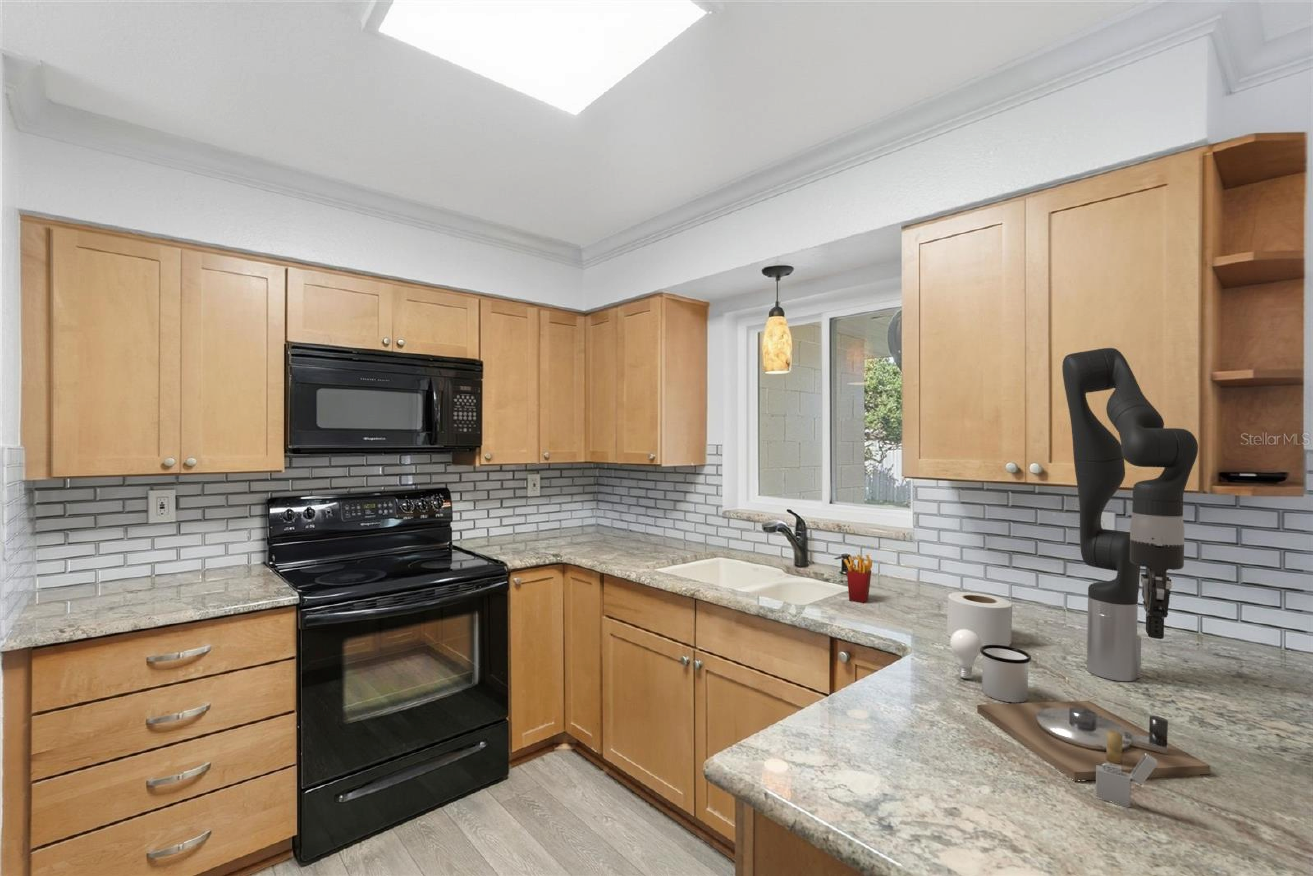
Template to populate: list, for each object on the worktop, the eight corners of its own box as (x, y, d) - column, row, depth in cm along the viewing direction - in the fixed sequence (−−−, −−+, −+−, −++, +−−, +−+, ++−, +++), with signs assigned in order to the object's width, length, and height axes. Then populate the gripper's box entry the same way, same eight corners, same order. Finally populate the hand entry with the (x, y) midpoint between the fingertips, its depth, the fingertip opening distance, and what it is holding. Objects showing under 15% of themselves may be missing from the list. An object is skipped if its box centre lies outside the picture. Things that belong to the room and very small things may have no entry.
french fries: (866, 604, 196) (867, 558, 196) (840, 600, 201) (841, 554, 200) (873, 598, 203) (874, 553, 203) (848, 594, 208) (849, 550, 208)
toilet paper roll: (998, 631, 171) (999, 593, 171) (1021, 650, 156) (1022, 608, 156) (939, 627, 174) (940, 589, 174) (956, 645, 158) (957, 604, 158)
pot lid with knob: (1035, 735, 107) (1035, 707, 107) (1037, 706, 119) (1038, 681, 119) (1173, 769, 97) (1174, 738, 97) (1161, 734, 108) (1161, 706, 108)
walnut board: (1088, 708, 122) (1089, 678, 122) (1210, 774, 98) (1210, 737, 98) (977, 712, 120) (977, 682, 120) (1074, 781, 96) (1075, 743, 96)
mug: (1023, 709, 121) (1024, 664, 121) (972, 694, 128) (973, 651, 128) (1039, 692, 130) (1040, 649, 130) (990, 679, 137) (991, 638, 136)
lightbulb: (985, 685, 133) (986, 635, 133) (953, 682, 134) (954, 633, 134) (976, 674, 139) (976, 626, 139) (946, 672, 140) (947, 624, 140)
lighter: (1095, 798, 91) (1096, 745, 91) (1095, 792, 93) (1096, 740, 93) (1156, 815, 87) (1157, 760, 87) (1155, 809, 89) (1156, 755, 89)
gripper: (1126, 532, 117) (1124, 622, 117) (1133, 542, 105) (1131, 642, 105) (1177, 536, 113) (1175, 630, 113) (1191, 547, 101) (1188, 651, 101)
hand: (1154, 635), depth 109 cm, fingers closed
